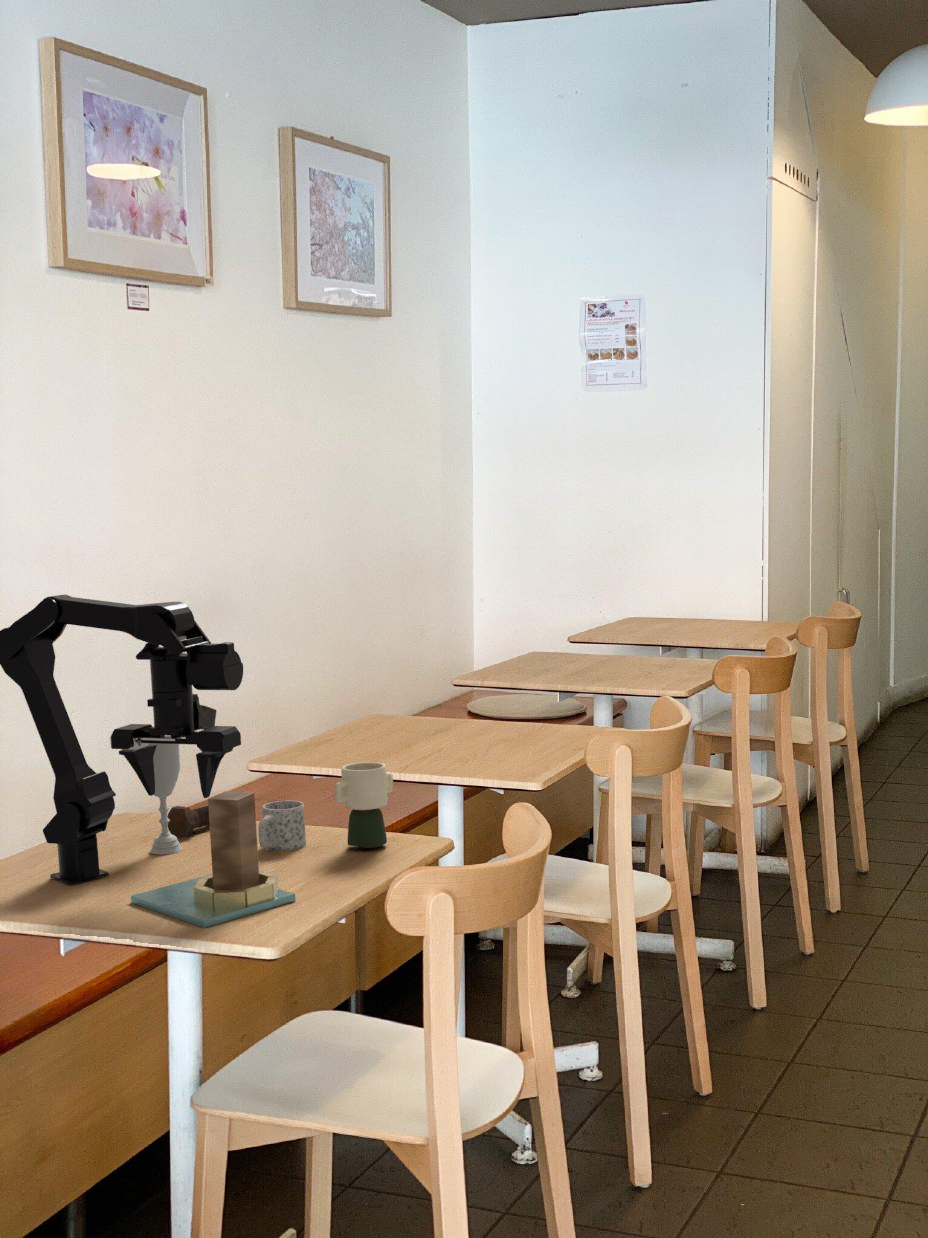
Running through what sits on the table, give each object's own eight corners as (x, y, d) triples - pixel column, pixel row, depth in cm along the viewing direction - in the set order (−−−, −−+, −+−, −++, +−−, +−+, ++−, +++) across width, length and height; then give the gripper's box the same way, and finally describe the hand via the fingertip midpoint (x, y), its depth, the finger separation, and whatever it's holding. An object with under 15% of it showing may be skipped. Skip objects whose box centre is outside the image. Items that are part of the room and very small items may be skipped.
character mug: (381, 836, 225) (378, 757, 224) (408, 844, 220) (404, 763, 219) (326, 850, 219) (321, 768, 217) (352, 858, 213) (347, 775, 212)
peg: (213, 899, 191) (207, 799, 190) (230, 889, 195) (225, 791, 194) (243, 901, 189) (237, 800, 188) (259, 891, 194) (254, 792, 192)
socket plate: (131, 902, 194) (129, 881, 194) (220, 878, 205) (219, 858, 204) (204, 928, 181) (202, 905, 181) (295, 900, 192) (294, 879, 192)
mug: (279, 839, 227) (277, 799, 226) (314, 842, 224) (311, 802, 223) (243, 855, 218) (241, 813, 217) (279, 858, 215) (277, 816, 214)
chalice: (197, 847, 223) (191, 737, 222) (167, 858, 218) (160, 744, 216) (164, 843, 227) (157, 734, 226) (134, 853, 222) (126, 741, 220)
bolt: (244, 829, 243) (181, 846, 231) (225, 812, 245) (162, 828, 233) (255, 802, 241) (192, 818, 229) (236, 785, 243) (173, 800, 231)
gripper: (256, 682, 204) (262, 786, 206) (148, 681, 211) (155, 782, 212) (217, 694, 194) (224, 803, 195) (104, 692, 200) (112, 798, 202)
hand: (178, 796), depth 201 cm, fingers open, 9 cm apart
